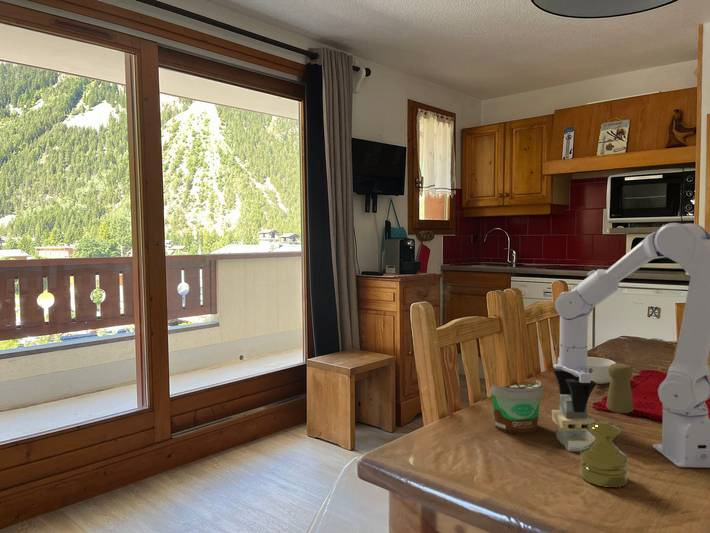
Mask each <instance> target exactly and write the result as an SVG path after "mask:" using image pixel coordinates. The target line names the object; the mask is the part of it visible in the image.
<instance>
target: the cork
mask: <svg viewBox="0 0 710 533" xmlns="http://www.w3.org/2000/svg"><path fill="white" fill-rule="evenodd" d="M608 373H609V375H610V377H611V379H610V382H609V386H608V393H607V400H606V405H605V407H606V406H607V408H608V409H609V410H608V409H607V410H608V411H610V410H611V411H610V412H613V413H617V414H630V413H629V412H632V411H633V410H634V411H635V409H634V400H633V394H632V393H633V392H632V386H631V378H632V376H633V368H632V367H631V366H630V365H629V364H625V363H620V362H619V363H617V362H616V364H611V365H610V366H609V368H608ZM632 413H633V412H632Z"/></svg>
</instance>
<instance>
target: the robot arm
mask: <svg viewBox="0 0 710 533" xmlns="http://www.w3.org/2000/svg"><path fill="white" fill-rule="evenodd" d="M662 258H668V259H669V260H672V261H673V262H675V263H677V264H678V265H679V266H680V267H681V268H682V269H683V270H684V271H685V273H687V274H688V275H689V277H690V278H689V283H688V287H687V288H688V289H687V295H686V300H685V304H684V310H683V315H682V320H681V325H680V330H679V334H678V340H677V344H676V345H677V346H676V350H675V353H674V354H675V355H674V359H673V360H672V362H671V363H670V365H669V367H668V369H667V373H666V377H665V379H664V380H663V381H662V382H661V383H660V384H659V386H658V389H657V395H658V398H659V401H660V402H661V403H662V430H661V431H662V436H661V437H662V440H661V443H660V444H659V443H657V444H656V443H653V444H652V447H653V448H654V449H655V450H656V451H658V452H659V453H660V454H661V455H663V456H664V457H665V458H666V459H667V460H668V461H671V462H672V463H673V464H674V465H675V466H677V467H679V468H710V418H709V408H708V405H707V404H706V401H708V400H709V399H710V365H709V364H708V362H709V357H710V232H709V231H708V230H707V229H705V227H703V226H701V225H699V224H697V223H692V222H691V223H679V222H669V223H667V224H664V225H662V226H661V227H660V228H659V229H658V230H657V231H653V232H651V233H649V234H648V235H647V236H646V237H645V238H643V240H641V241H640V242H639V243H638V244H637V245H635V246H634V247H633V248H632V249H631V250H629V251H628V252H627V253H626V254H625V255H623V256H622V257H621V258H620V259H619V260H617V261H616V262H615V263H614V264H612V265H611V266H610V267H608V269H602V268H598V269H597V270H590V271H589V272H587V277H586V278H584V279H583V280H582V281H581V282H579V283H578V284H573V285H572V286H571V287H570V288H571V291H563V292H560V294H559V295H558V296H557V297H556V298H555V301H554V309H555V311H556V313H557V315H559V341H558V342H559V347H558V348H559V350H558V351H559V353H558V354H559V356H558V357H557V363H554V364H553V368H552V370H551V372H552V373H553V374H554V376H555V379H556V382H557V386H558V391H559V395H560V394H564V395H571V398H572V406H573V410H574V412H585V409H586V405H587V406H588V401H589V398H590V396H591V393H592V391H593V390H594V388H595V387H596V385H597V384H596V383H595V382H594V381H590V377H591V374H590V373H589V371H588V366H587V357H588V341H589V340H588V337H589V336H588V331H589V330H588V328H589V326H588V324H589V323H588V322H589V315H590V314H591V313H592V311H594V310H593V309H594V308H595V307H596V306H598V305H599V304H600V303H602V302H603V301H605V300H606V299H607V298H609V297H610V296H612V295H613V294H614V293H617V291H618V290H619V284H620V281H622V280H623V279H625V278H627V277H628V276H629V275H631V274H633V273H634V272H636V271H637V270H639V269H640V268H642V267H643V266H645V265H646V264H647V263H650V262H651V261H653V260H655V259H662Z"/></svg>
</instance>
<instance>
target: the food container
mask: <svg viewBox="0 0 710 533" xmlns="http://www.w3.org/2000/svg"><path fill="white" fill-rule="evenodd" d="M544 393H545V392H544V389H543V385H542V383H541V381H540V380H538V379H535V383H529V384H527V383H526V384H523V383H522V384H521V383H515V384H514V383H513V384H510V385H506V386H499V385H495V384H493V383H491V386H490V388H489V394H490V395H492V404H493V405H492V406H493V414H494V425H495V427H494V428H495V429H496V428H497V429H496V430H498V429H499V430H498V431H500V430H502V431H501V432H503V431H505V432H504V433H506V432H510V433H509V434H511V433H516V434H515V435H529V434H528V433H530V434H533V433H535V432H536V431H537V429H538V422H539V412H540V405H541V404H540V402H541V397H543V395H544ZM532 432H533V433H532Z"/></svg>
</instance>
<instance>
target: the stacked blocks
mask: <svg viewBox="0 0 710 533" xmlns="http://www.w3.org/2000/svg"><path fill="white" fill-rule="evenodd" d="M551 416H552V417H551V420H552V421H553V422H554V423H555V424H556V425H557V427H558V428H569V426H570V428H587V429H588V426H589V425H590V424H592V423H594V422H596V420H595V419H594V418H593V417H591V416H590V415H589V414H588V404H587V405H586V409H585V412H574V410H573V406H572V398H571V395H564V394H560V393H559V409H551ZM582 426H583V427H582Z"/></svg>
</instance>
